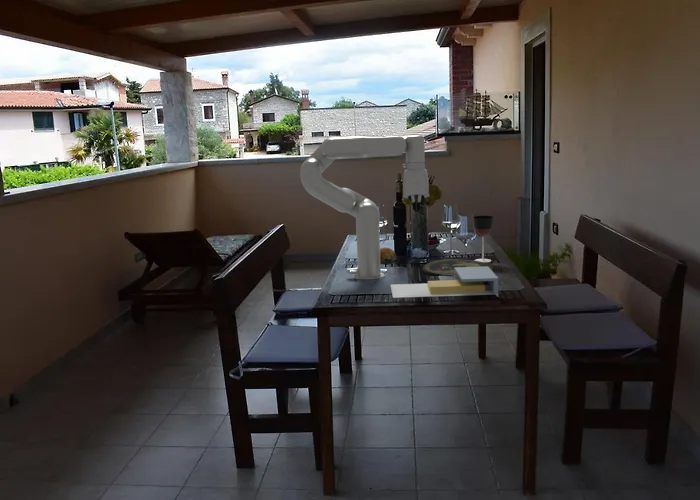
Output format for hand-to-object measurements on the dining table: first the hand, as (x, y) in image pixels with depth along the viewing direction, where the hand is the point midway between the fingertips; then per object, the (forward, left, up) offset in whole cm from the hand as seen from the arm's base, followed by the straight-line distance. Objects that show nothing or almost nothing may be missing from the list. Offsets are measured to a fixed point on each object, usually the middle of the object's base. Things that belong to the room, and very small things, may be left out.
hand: (416, 211), depth 248 cm
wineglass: (+32, +24, -27) cm, 48 cm away
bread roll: (-12, +30, -28) cm, 43 cm away
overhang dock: (+7, -25, -27) cm, 38 cm away
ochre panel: (+12, -26, -26) cm, 39 cm away
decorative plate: (+18, +7, -28) cm, 34 cm away
